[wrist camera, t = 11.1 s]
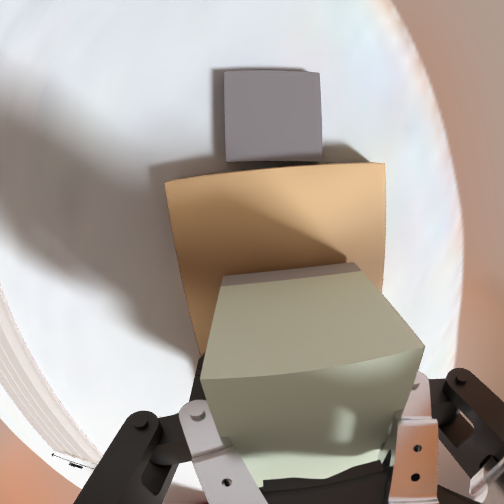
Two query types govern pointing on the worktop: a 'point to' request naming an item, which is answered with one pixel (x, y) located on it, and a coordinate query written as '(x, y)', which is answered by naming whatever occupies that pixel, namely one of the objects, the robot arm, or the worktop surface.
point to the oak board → (274, 226)
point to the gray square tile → (272, 116)
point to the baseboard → (38, 394)
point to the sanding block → (307, 369)
